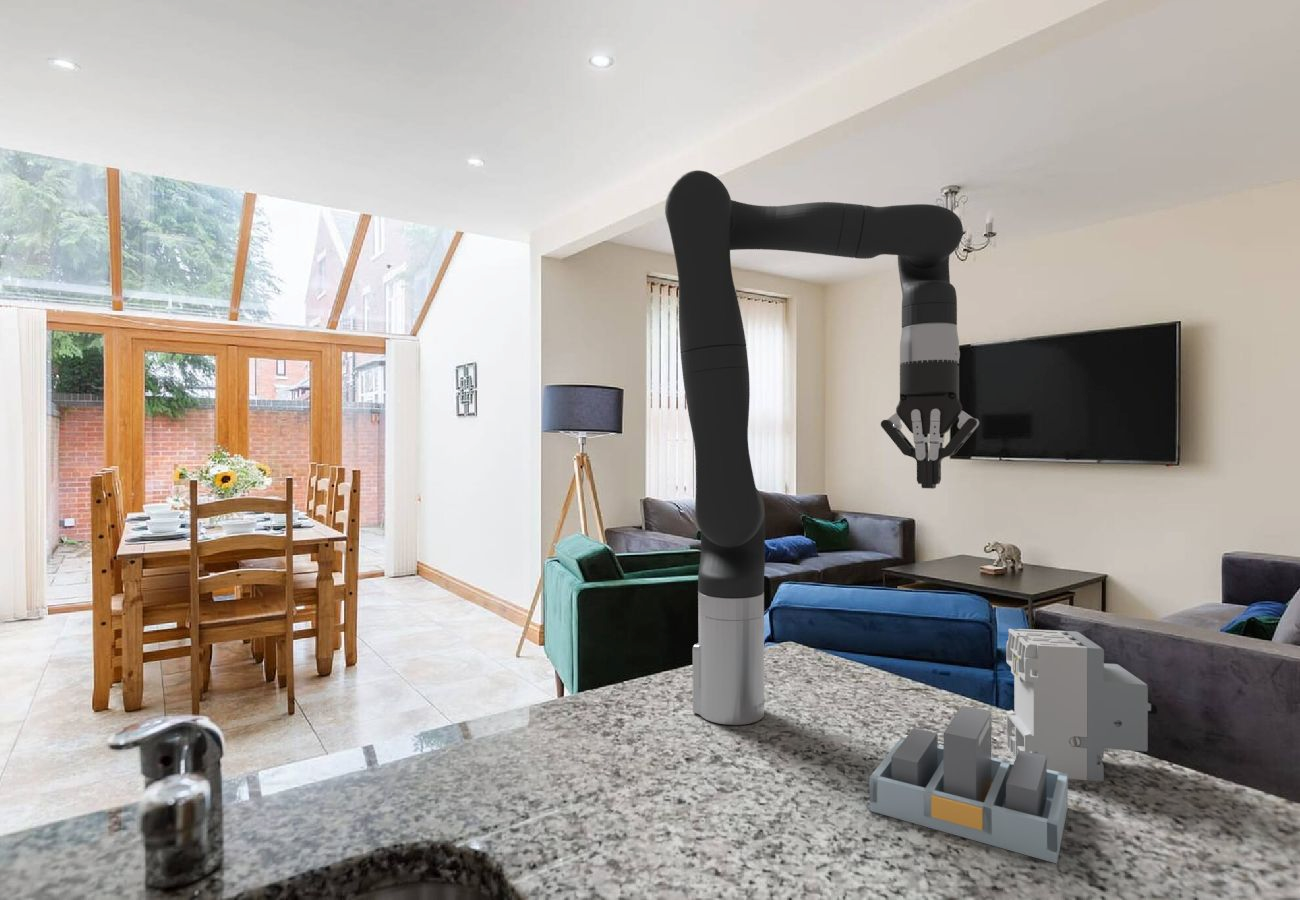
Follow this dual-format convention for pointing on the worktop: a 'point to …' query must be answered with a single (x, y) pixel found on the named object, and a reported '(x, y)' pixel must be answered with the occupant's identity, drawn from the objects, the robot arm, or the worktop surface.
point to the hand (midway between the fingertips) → (929, 487)
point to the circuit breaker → (1072, 702)
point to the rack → (1010, 818)
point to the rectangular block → (968, 754)
